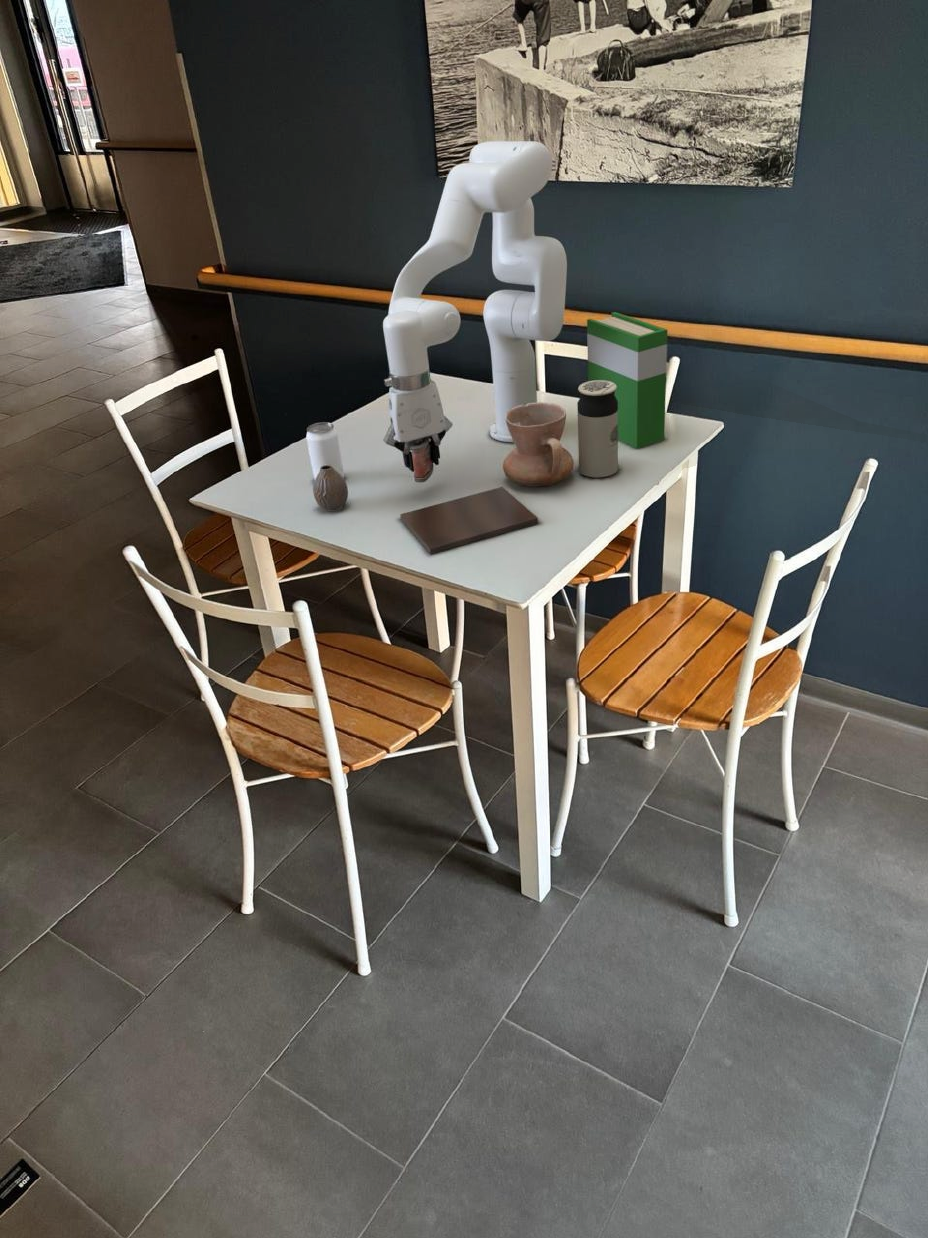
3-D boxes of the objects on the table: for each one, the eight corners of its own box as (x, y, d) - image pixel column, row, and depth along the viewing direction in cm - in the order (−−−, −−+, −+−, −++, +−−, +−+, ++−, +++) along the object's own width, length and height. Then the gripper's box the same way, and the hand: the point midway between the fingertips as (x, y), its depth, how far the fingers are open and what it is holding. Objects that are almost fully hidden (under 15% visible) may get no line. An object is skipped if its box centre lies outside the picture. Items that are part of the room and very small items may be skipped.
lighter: (427, 482, 187) (422, 436, 182) (411, 482, 188) (405, 436, 182) (436, 464, 194) (431, 418, 188) (420, 464, 195) (414, 419, 189)
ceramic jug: (491, 471, 199) (486, 407, 191) (553, 455, 203) (550, 392, 195) (525, 504, 185) (521, 437, 177) (591, 487, 189) (590, 420, 181)
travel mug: (571, 473, 195) (568, 389, 185) (594, 459, 200) (593, 376, 190) (602, 482, 190) (602, 396, 180) (625, 467, 195) (625, 383, 185)
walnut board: (502, 491, 191) (502, 486, 190) (538, 523, 178) (538, 517, 177) (400, 519, 184) (400, 514, 184) (430, 554, 172) (429, 548, 171)
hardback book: (588, 424, 215) (587, 319, 202) (615, 416, 218) (615, 311, 205) (636, 448, 202) (638, 337, 189) (664, 439, 205) (667, 329, 192)
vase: (336, 517, 188) (328, 476, 183) (309, 510, 191) (301, 471, 186) (357, 502, 192) (350, 462, 188) (330, 496, 196) (323, 457, 191)
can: (315, 475, 205) (305, 423, 199) (345, 471, 206) (336, 419, 199) (314, 488, 200) (303, 435, 193) (344, 484, 200) (335, 431, 194)
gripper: (375, 395, 174) (390, 484, 185) (459, 374, 179) (468, 461, 189) (363, 383, 180) (377, 469, 191) (444, 363, 185) (454, 448, 195)
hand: (422, 464), depth 190 cm, fingers closed on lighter, 4 cm apart
